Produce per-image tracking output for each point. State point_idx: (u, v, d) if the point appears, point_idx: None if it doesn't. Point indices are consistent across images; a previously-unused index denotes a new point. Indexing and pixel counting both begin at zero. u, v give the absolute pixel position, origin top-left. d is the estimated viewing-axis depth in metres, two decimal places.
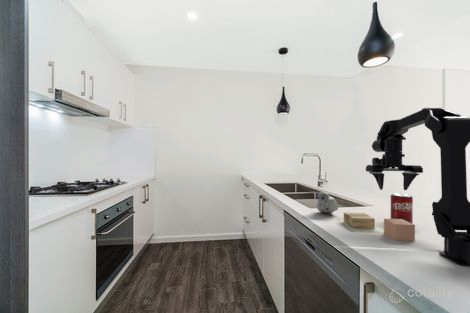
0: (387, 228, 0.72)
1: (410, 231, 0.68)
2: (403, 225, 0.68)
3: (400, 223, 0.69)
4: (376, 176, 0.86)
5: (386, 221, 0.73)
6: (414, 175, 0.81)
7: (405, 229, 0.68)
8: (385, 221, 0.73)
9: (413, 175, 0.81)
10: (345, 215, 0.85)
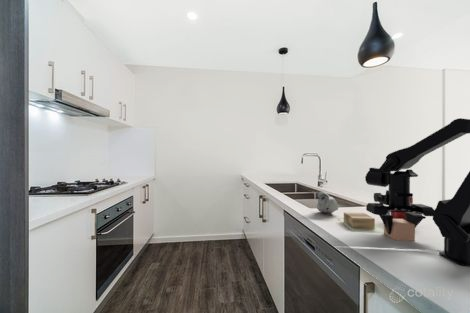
0: None
1: (410, 230, 0.68)
2: (403, 225, 0.68)
3: (400, 223, 0.69)
4: (383, 217, 0.72)
5: None
6: (419, 219, 0.68)
7: (405, 228, 0.68)
8: None
9: (418, 219, 0.68)
10: (345, 215, 0.85)
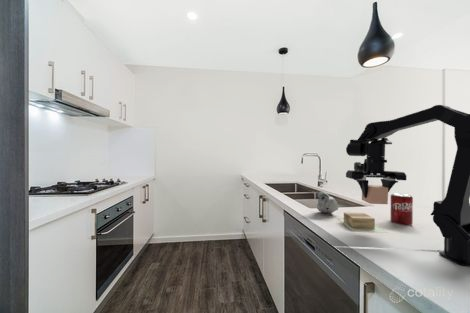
0: None
1: (384, 193, 0.75)
2: (377, 188, 0.75)
3: (375, 187, 0.76)
4: (360, 183, 0.79)
5: None
6: (392, 182, 0.74)
7: (379, 191, 0.75)
8: None
9: (391, 182, 0.74)
10: (345, 215, 0.85)
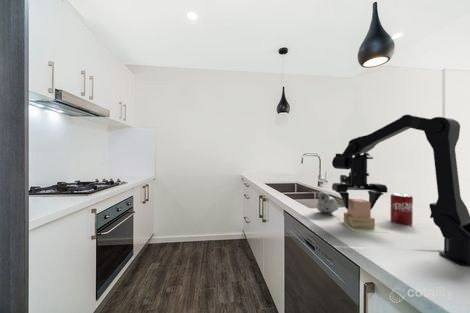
0: (349, 206, 0.84)
1: (367, 207, 0.80)
2: (361, 202, 0.80)
3: (359, 201, 0.81)
4: (342, 195, 0.84)
5: None
6: (378, 195, 0.79)
7: (362, 205, 0.80)
8: None
9: (377, 195, 0.79)
10: (345, 215, 0.85)
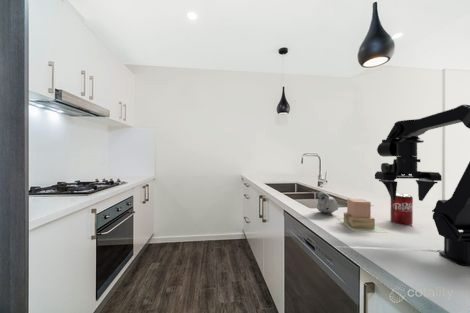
0: (349, 206, 0.84)
1: (367, 207, 0.80)
2: (361, 202, 0.80)
3: (359, 201, 0.81)
4: (387, 184, 0.74)
5: (348, 200, 0.85)
6: (432, 183, 0.70)
7: (362, 205, 0.80)
8: (348, 200, 0.85)
9: (430, 183, 0.70)
10: (345, 215, 0.85)
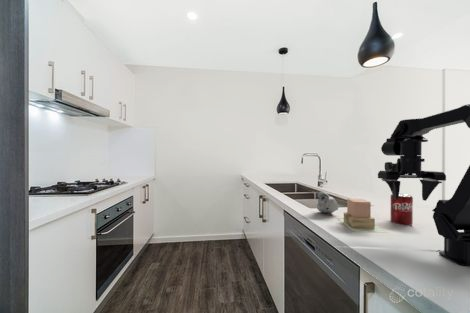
0: (349, 206, 0.84)
1: (367, 207, 0.80)
2: (361, 202, 0.80)
3: (359, 201, 0.81)
4: (390, 184, 0.74)
5: (348, 200, 0.85)
6: (436, 183, 0.69)
7: (362, 205, 0.80)
8: (348, 200, 0.85)
9: (434, 183, 0.69)
10: (345, 215, 0.85)
